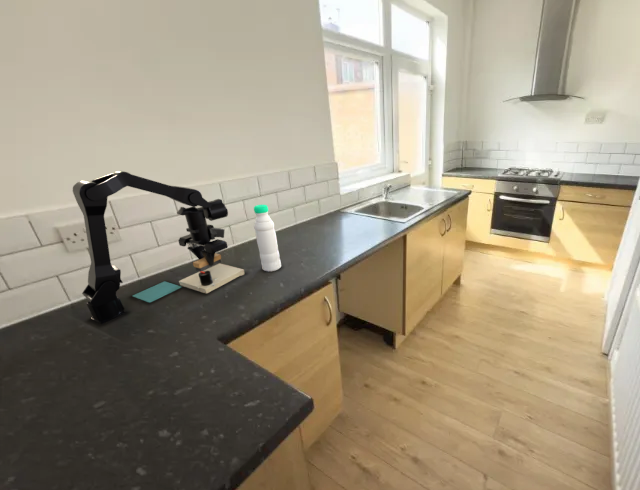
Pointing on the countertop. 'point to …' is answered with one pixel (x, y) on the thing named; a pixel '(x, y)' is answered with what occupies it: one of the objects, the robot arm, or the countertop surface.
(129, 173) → the robot arm
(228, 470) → the countertop surface
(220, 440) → the countertop surface
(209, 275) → the knob
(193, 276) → the cream rectangular board
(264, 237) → the water bottle
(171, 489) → the countertop surface
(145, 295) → the dish cloth
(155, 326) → the countertop surface
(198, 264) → the brush
